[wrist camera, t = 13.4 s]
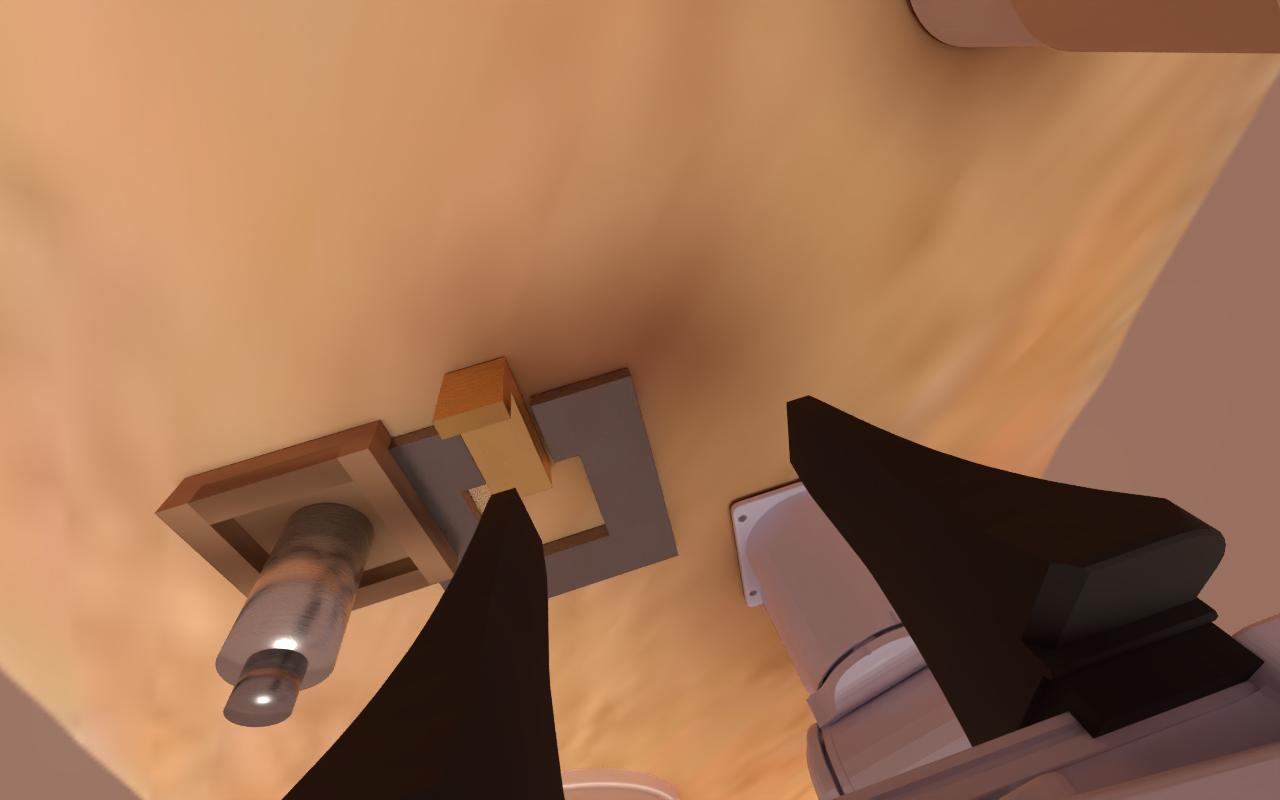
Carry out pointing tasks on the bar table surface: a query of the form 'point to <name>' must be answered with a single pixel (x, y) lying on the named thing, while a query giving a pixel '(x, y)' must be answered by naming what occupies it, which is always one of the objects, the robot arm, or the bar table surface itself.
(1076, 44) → the coffee cup
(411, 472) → the socket collar
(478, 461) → the golden l-shaped block
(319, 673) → the peg
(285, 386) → the bar table surface
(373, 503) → the square wooden tray
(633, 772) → the plate stack
